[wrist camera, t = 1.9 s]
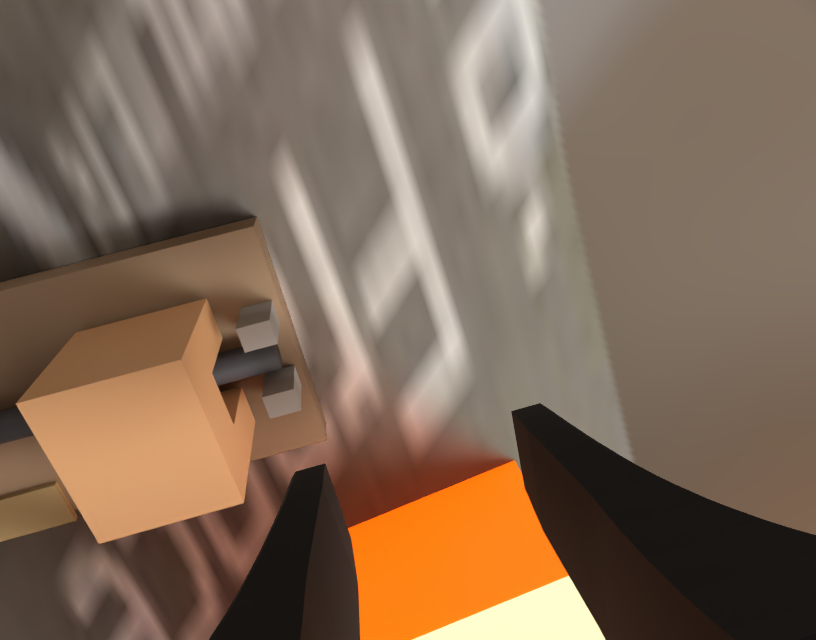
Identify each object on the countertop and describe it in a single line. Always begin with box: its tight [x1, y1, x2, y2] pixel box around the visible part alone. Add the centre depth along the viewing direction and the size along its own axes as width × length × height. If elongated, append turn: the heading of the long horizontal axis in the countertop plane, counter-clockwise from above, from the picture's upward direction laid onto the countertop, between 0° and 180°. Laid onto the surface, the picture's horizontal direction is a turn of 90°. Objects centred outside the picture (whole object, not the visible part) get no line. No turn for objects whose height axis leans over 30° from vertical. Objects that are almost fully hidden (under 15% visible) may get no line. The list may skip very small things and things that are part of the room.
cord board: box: [0, 217, 327, 542], centre depth 18 cm, size 9×17×5 cm, turn 102°
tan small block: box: [16, 298, 255, 544], centre depth 17 cm, size 5×4×4 cm
